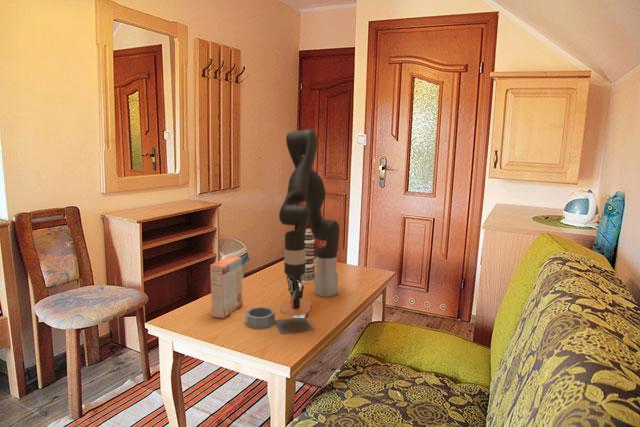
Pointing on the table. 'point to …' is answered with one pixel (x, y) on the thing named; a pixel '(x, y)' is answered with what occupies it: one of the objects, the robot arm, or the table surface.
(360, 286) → the table surface
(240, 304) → the cracker box
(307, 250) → the decorative candle
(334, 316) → the table surface
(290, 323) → the mat
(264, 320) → the bowl
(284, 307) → the lid
